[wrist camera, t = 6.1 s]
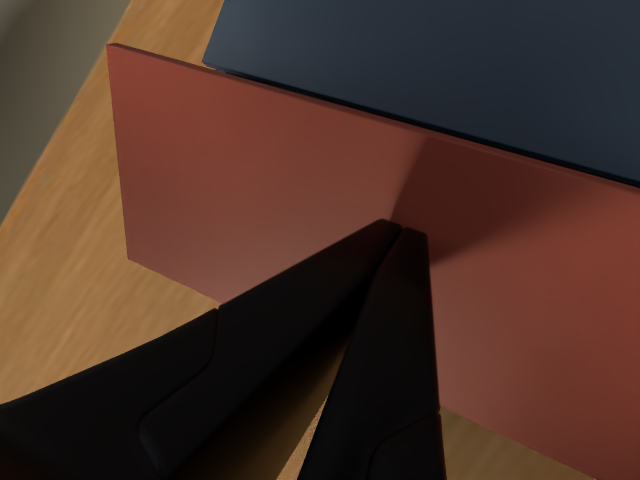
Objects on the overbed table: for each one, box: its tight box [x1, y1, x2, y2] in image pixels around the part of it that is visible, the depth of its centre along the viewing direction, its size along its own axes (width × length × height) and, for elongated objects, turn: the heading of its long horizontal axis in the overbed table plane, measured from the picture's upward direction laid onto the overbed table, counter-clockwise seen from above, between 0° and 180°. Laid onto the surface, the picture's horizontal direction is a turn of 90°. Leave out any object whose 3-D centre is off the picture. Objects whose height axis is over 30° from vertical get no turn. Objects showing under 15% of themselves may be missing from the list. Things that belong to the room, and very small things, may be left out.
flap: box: [106, 43, 640, 480], centre depth 8 cm, size 5×14×1 cm, turn 69°
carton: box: [202, 0, 640, 188], centre depth 13 cm, size 11×14×8 cm
